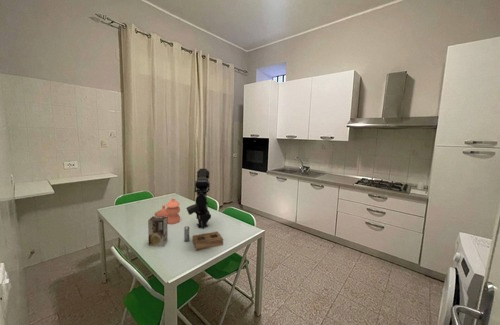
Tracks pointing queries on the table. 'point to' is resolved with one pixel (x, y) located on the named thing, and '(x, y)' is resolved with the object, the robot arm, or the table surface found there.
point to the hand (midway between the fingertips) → (201, 225)
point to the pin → (186, 234)
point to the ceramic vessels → (170, 212)
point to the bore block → (207, 240)
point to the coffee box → (157, 231)
